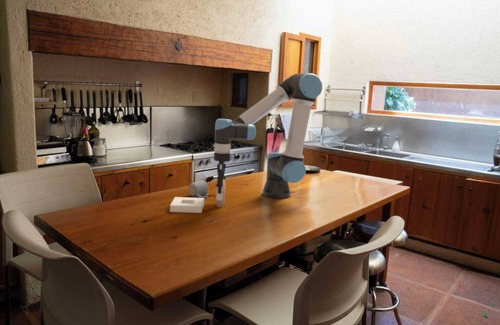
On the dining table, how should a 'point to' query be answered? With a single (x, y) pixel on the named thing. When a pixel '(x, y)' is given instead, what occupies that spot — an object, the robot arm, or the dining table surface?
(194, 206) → the socket block
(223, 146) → the robot arm
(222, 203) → the peg
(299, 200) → the dining table surface
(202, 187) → the ceramic mug
